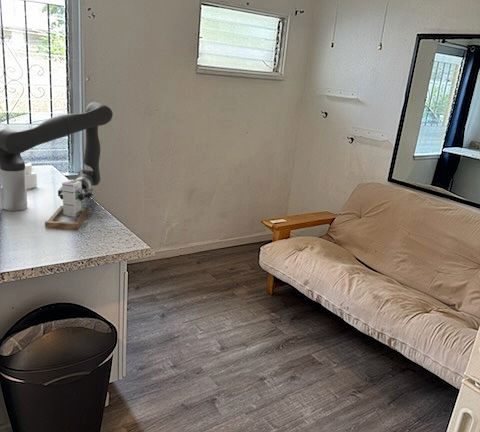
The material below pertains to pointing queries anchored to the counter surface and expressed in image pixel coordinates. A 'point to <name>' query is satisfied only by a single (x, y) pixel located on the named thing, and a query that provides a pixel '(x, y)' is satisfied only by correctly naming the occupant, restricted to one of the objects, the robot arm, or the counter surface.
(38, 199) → the counter surface
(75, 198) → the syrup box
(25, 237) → the counter surface
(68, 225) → the open wooden frame
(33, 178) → the medicine bottle
